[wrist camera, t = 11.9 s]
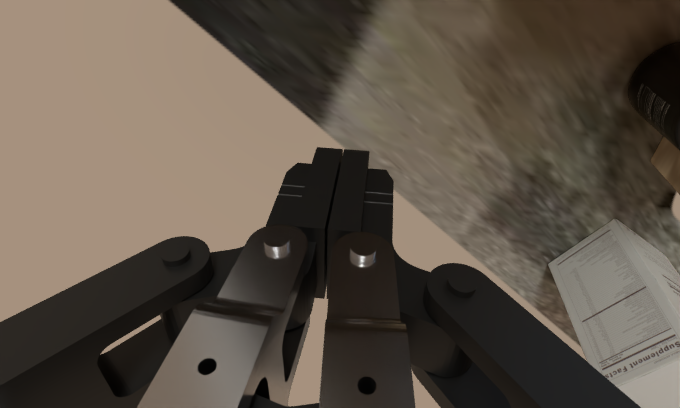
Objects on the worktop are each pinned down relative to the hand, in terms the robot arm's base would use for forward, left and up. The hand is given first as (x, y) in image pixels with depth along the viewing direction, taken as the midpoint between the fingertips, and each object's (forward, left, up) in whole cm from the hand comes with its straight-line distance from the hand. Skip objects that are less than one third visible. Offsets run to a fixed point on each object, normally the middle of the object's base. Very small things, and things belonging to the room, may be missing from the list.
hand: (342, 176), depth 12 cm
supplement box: (+28, +29, -29) cm, 50 cm away
